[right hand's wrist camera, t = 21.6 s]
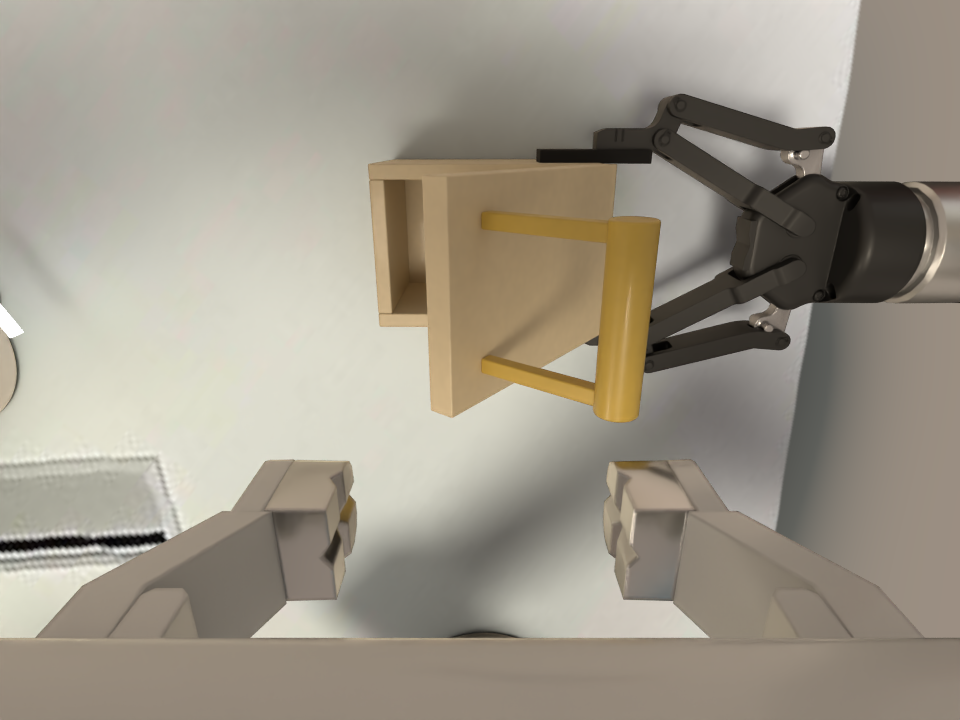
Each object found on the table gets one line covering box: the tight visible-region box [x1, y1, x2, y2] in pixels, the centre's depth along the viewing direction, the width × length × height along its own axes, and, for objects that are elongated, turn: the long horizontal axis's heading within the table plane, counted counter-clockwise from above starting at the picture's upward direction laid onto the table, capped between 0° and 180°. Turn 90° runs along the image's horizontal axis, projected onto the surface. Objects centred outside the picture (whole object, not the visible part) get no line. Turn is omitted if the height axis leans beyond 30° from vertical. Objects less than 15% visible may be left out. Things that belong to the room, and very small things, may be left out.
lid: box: [422, 164, 661, 422], centre depth 25 cm, size 14×10×8 cm
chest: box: [368, 159, 603, 327], centre depth 37 cm, size 13×10×9 cm
